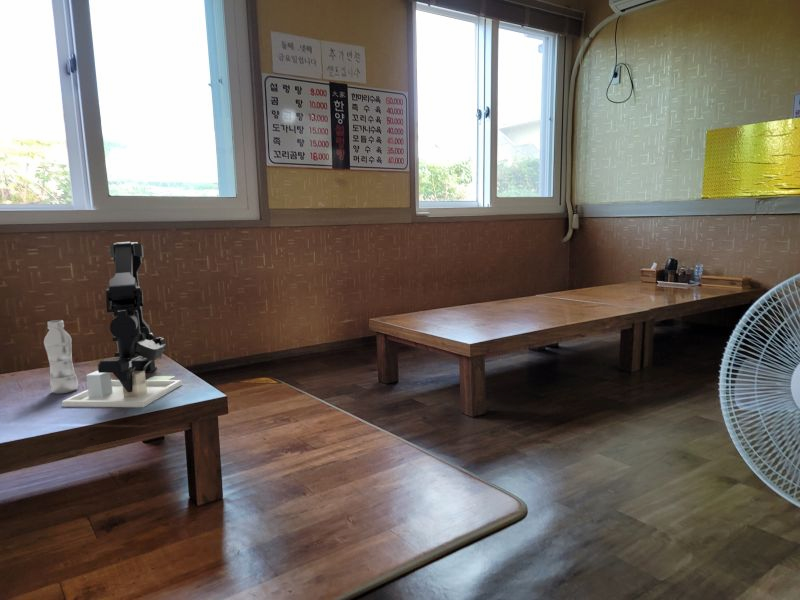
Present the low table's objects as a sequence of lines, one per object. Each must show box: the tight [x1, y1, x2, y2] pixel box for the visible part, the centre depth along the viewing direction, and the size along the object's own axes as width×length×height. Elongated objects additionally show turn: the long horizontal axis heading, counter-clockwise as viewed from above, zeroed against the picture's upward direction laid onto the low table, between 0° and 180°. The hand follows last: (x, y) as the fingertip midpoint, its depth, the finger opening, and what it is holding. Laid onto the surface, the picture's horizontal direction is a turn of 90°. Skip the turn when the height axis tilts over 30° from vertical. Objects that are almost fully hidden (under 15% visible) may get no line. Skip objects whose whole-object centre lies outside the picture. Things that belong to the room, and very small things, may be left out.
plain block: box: [85, 370, 113, 397], centre depth 146 cm, size 4×4×6 cm
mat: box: [146, 375, 176, 380], centre depth 159 cm, size 7×6×1 cm
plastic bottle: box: [43, 319, 79, 395], centre depth 150 cm, size 6×7×20 cm
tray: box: [61, 379, 183, 408], centre depth 145 cm, size 22×18×2 cm
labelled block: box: [123, 371, 147, 398], centre depth 145 cm, size 4×4×6 cm
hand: (135, 389), depth 145 cm, fingers closed on labelled block, 4 cm apart
